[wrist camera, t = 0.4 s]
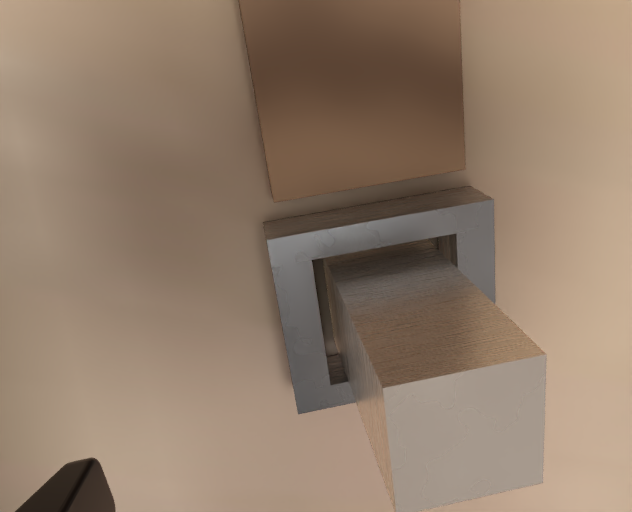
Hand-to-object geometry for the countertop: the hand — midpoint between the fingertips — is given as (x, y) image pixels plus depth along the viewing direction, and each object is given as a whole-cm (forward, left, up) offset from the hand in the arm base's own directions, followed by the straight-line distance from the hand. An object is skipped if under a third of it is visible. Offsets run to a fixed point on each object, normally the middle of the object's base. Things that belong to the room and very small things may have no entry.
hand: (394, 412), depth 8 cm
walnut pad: (+4, -3, -13) cm, 13 cm away
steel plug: (-4, -3, -13) cm, 13 cm away
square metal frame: (-4, -3, -13) cm, 13 cm away
